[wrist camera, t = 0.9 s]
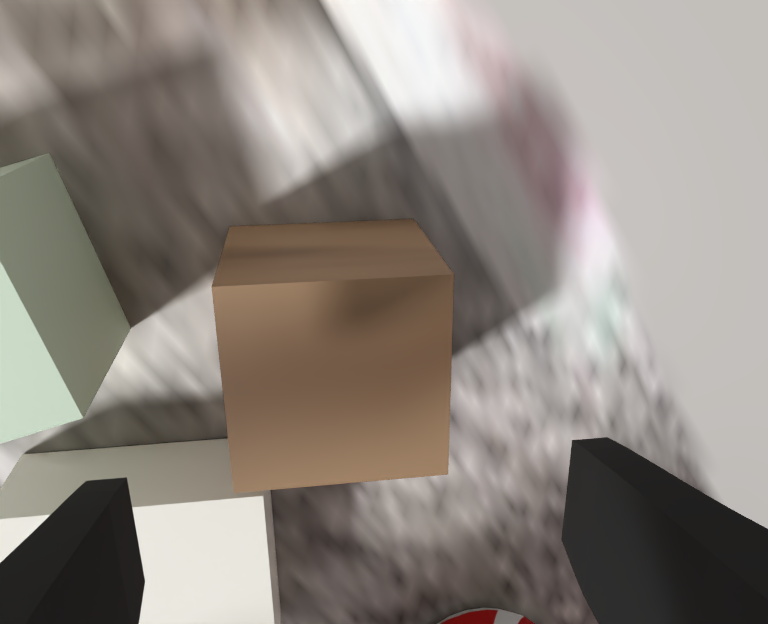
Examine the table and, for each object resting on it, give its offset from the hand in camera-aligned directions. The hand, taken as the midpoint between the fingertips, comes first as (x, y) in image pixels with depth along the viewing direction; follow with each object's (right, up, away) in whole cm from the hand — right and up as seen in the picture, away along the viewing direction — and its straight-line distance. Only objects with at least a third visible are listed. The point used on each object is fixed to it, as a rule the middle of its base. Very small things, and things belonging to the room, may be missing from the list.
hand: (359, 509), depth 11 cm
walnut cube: (-1, +3, +9) cm, 9 cm away
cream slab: (-7, -4, +11) cm, 13 cm away
